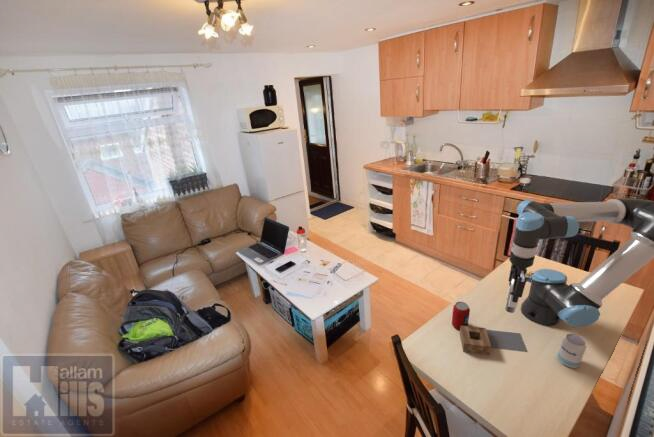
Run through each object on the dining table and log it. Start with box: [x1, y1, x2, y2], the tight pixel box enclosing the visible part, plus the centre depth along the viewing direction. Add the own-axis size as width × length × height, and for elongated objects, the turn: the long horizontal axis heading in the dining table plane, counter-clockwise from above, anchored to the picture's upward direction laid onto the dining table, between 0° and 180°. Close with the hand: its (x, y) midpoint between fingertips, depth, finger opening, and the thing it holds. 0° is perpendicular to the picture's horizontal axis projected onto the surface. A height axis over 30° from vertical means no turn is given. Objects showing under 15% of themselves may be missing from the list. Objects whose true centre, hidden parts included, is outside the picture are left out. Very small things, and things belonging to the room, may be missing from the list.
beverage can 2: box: [556, 333, 587, 369], centre depth 113 cm, size 7×7×12 cm
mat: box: [486, 329, 529, 353], centre depth 127 cm, size 14×10×1 cm
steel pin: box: [505, 277, 516, 314], centre depth 117 cm, size 3×3×15 cm
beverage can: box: [451, 301, 471, 331], centre depth 134 cm, size 7×7×12 cm
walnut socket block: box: [459, 325, 492, 356], centre depth 126 cm, size 10×10×5 cm
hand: (511, 303), depth 119 cm, fingers closed on steel pin, 3 cm apart
